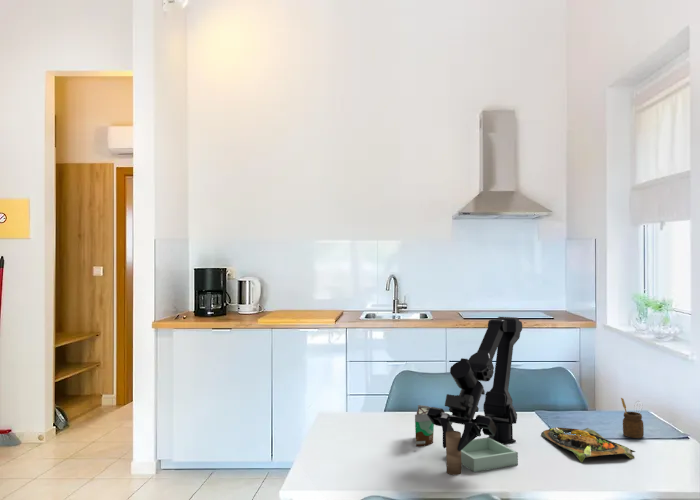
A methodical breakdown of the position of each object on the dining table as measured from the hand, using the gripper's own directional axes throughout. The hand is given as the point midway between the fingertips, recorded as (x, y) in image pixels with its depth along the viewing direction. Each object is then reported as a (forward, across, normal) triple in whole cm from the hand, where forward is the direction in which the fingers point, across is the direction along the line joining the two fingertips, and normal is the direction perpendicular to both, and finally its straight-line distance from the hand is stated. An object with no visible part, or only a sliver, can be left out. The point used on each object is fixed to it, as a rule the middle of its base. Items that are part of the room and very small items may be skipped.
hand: (451, 449), depth 147 cm
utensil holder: (-39, +32, +48) cm, 70 cm away
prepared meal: (-26, +22, +36) cm, 49 cm away
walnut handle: (+4, 0, +6) cm, 7 cm away
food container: (-8, -19, +18) cm, 27 cm away
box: (-5, +2, +15) cm, 16 cm away
